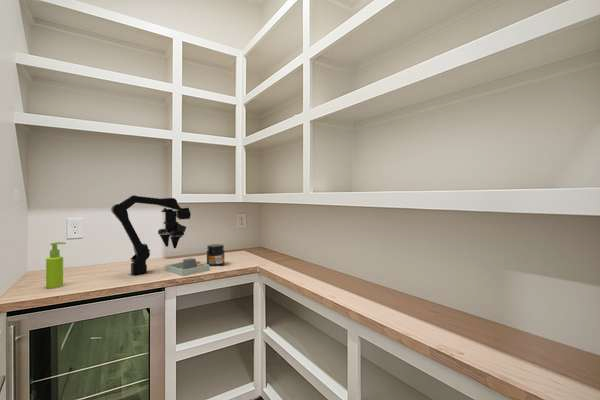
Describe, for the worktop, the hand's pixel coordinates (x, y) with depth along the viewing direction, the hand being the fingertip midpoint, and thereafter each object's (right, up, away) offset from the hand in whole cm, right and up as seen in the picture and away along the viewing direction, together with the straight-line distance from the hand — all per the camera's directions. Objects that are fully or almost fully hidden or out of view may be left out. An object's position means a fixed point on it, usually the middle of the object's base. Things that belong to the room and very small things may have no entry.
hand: (170, 247), depth 160 cm
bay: (+11, -12, -4) cm, 17 cm away
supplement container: (+22, -13, +10) cm, 28 cm away
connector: (+13, -12, -2) cm, 18 cm away
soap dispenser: (-39, -13, -31) cm, 51 cm away
